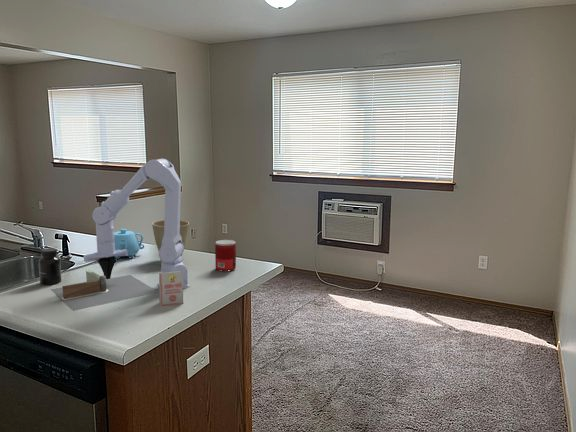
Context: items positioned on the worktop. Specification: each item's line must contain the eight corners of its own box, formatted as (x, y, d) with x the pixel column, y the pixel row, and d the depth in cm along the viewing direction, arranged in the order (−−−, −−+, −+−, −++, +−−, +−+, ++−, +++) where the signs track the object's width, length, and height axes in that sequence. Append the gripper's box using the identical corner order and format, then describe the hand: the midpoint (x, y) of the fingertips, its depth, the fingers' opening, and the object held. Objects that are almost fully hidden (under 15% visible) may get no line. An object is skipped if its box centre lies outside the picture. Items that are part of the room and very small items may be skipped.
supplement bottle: (37, 286, 157) (35, 252, 155) (42, 280, 163) (40, 247, 161) (59, 285, 159) (57, 251, 157) (63, 279, 165) (61, 247, 163)
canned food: (238, 270, 180) (238, 243, 178) (217, 272, 177) (217, 244, 175) (233, 265, 187) (233, 239, 185) (213, 267, 184) (213, 240, 182)
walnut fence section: (107, 291, 153) (106, 276, 152) (64, 299, 145) (63, 284, 144) (105, 289, 155) (104, 275, 154) (62, 298, 146) (61, 282, 145)
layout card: (158, 292, 154) (158, 291, 153) (73, 311, 136) (73, 310, 136) (129, 275, 172) (129, 274, 172) (50, 289, 154) (50, 288, 154)
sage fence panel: (90, 281, 162) (89, 270, 162) (103, 288, 155) (102, 277, 154) (86, 281, 161) (85, 270, 161) (99, 289, 154) (99, 278, 153)
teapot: (105, 251, 205) (104, 225, 203) (144, 249, 210) (143, 224, 208) (102, 263, 186) (100, 235, 184) (145, 261, 191) (144, 233, 189)
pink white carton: (159, 302, 145) (158, 271, 143) (181, 299, 148) (180, 269, 146) (161, 306, 142) (160, 275, 140) (183, 303, 144) (182, 272, 143)
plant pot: (161, 267, 183) (160, 227, 180) (148, 258, 195) (146, 221, 192) (195, 261, 191) (195, 224, 189) (181, 254, 203) (180, 218, 201)
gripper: (121, 235, 167) (123, 271, 169) (79, 241, 158) (82, 279, 160) (129, 239, 162) (131, 276, 164) (86, 245, 152) (89, 284, 155)
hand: (107, 278), depth 162 cm, fingers closed
